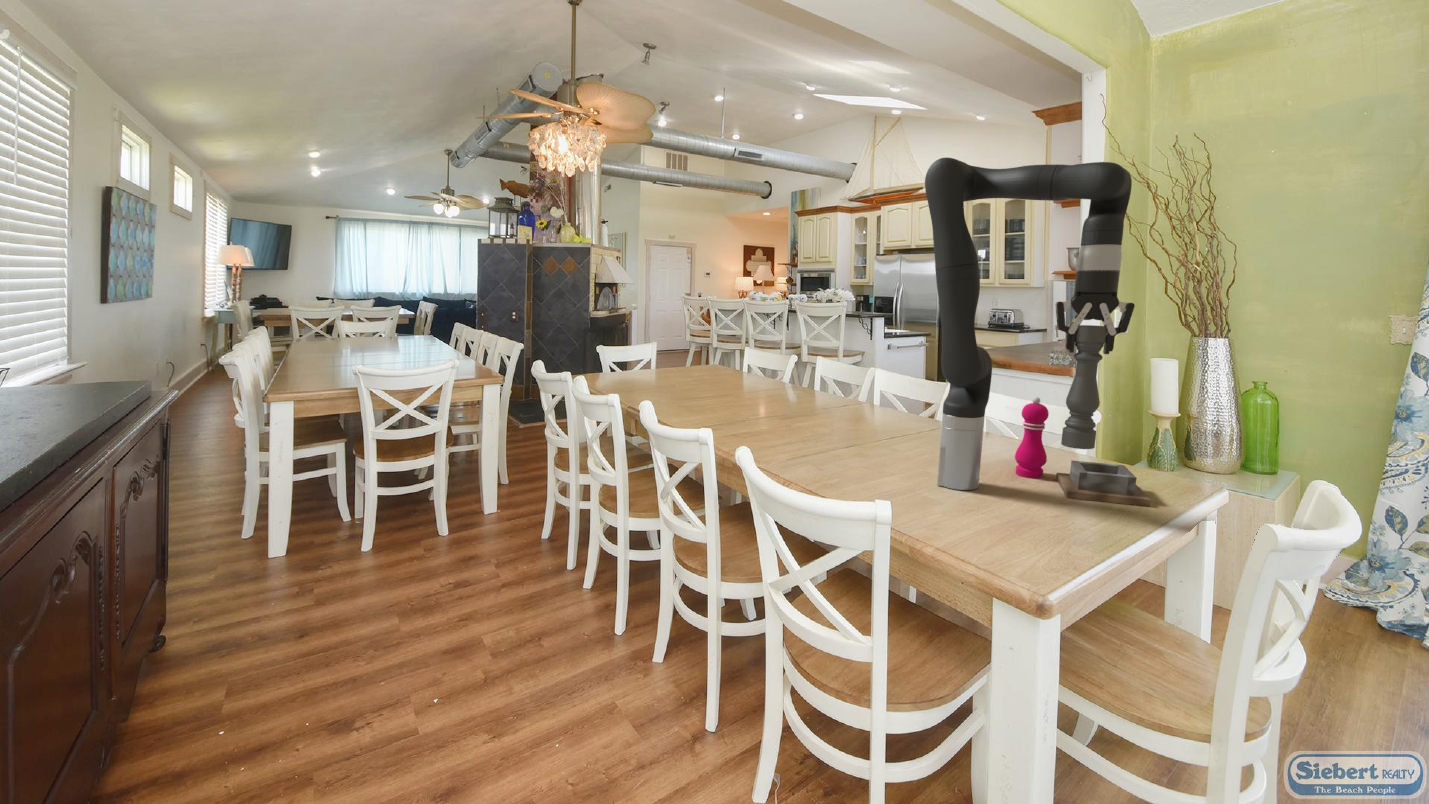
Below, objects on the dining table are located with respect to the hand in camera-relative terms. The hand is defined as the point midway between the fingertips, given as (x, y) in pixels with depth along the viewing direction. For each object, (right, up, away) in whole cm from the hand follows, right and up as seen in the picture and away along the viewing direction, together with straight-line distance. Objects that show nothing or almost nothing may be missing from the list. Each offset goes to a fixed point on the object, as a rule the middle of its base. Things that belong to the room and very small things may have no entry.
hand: (1088, 352), depth 129 cm
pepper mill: (+3, -29, +31) cm, 42 cm away
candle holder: (0, -19, +3) cm, 20 cm away
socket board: (+13, -31, +18) cm, 38 cm away
